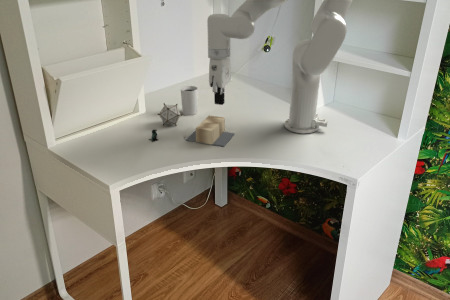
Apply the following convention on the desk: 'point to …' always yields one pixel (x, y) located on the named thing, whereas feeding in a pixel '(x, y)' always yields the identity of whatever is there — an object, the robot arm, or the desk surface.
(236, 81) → the desk surface
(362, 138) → the desk surface
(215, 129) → the maple block
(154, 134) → the sculpture
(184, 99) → the white and black cylinder
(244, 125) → the desk surface
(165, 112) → the game die
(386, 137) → the desk surface
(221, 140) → the slate mat
